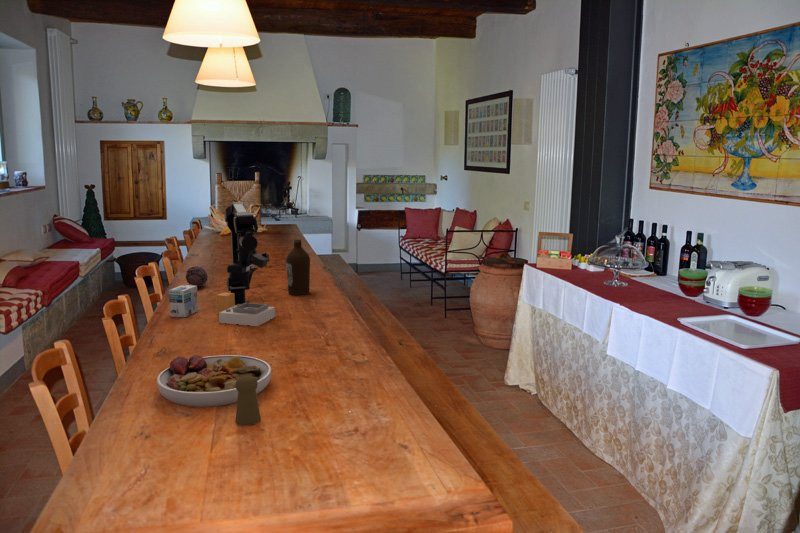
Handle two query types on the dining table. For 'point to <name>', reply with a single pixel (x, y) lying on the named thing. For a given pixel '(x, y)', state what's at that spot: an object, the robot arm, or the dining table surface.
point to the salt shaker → (247, 401)
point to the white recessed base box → (247, 314)
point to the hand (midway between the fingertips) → (247, 287)
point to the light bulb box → (183, 301)
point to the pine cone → (196, 276)
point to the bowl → (210, 379)
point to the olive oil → (298, 270)
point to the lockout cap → (225, 301)
